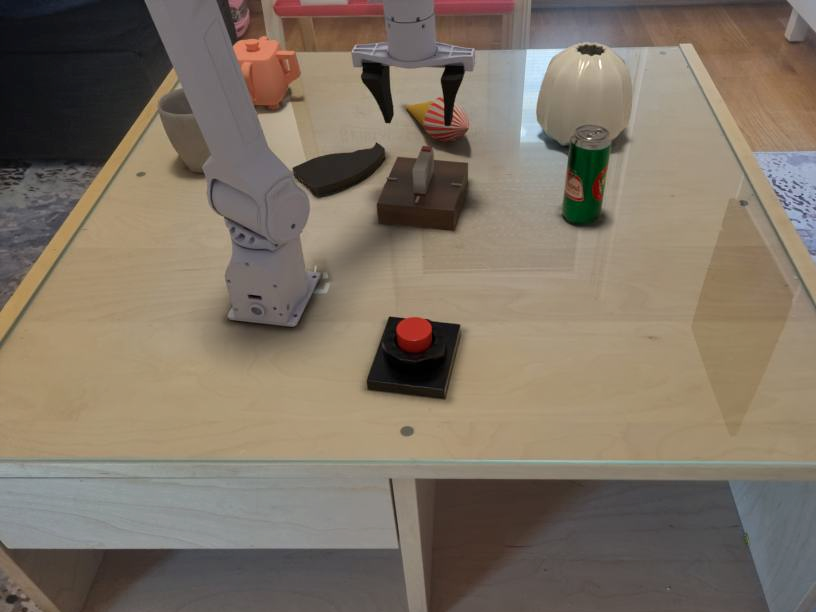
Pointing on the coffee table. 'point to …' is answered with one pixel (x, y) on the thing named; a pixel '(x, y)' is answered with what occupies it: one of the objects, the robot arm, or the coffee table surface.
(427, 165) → the dial knob
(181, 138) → the mug
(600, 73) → the vase
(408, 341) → the button
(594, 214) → the soda can
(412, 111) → the ice cream cone
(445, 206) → the dial panel
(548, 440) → the coffee table surface
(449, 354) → the button block
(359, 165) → the fan shaped piece
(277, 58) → the teapot
